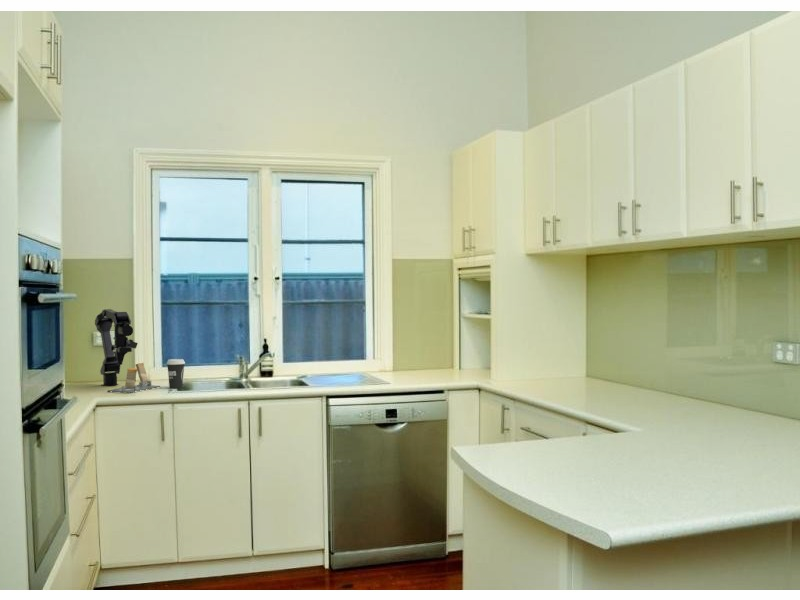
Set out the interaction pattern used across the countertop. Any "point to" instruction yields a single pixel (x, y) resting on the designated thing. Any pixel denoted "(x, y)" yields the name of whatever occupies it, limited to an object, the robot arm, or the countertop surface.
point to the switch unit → (135, 387)
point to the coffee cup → (175, 373)
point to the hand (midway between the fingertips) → (120, 364)
